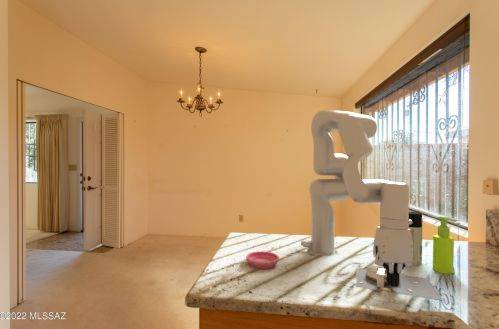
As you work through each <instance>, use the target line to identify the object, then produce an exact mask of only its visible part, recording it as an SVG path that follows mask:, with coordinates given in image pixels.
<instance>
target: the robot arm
mask: <svg viewBox="0 0 499 329" xmlns="http://www.w3.org/2000/svg"><path fill="white" fill-rule="evenodd" d="M310 129H311V130H310V131H311V136H312V142H313V159H312V160H313V162H312V163H313V164H312V165H313V171H314V173H315V175H318V176H325V177H326V176H327V177H328V176H329V177H330V176H333V177H334V178H318V179H314V180H313V181H311V182H310V184H309V188H308V189H309V196H310V203H311V225H310V226H311V229H310V230H311V232H310V233H311V234H310V235H311V238H310V240H309V241H305V240H301V241H300V246H302V247H303V248H307V250H306V251H307V254H308V255H310V256H312V257H315V255H318V256H322V257H323V256H325V257H329V256H335V255H337V254H338V253H339V252H338V250H337V249H335V232H336V230H335V228H336V226H335V223H336V220H335V218H336V214H335V213H336V212H335V209H334V207H333V205H332V204H331V202H339V201H340V202H342V201H345V200H348V199H349V198H350V199H352V201H353V202H355V203H357V204H379V205H380V206H379V226H376V229H375V233H374V239H373V245H372V248H373V249H372V255H373V257H374V264H375V266H382V267H384V268H385V269H386V270H387V282H388V284H390V285H391V286H392V287H395V286H396V287H398V283H399V273H402V271H403V270H404V269H405V268H407V267H410V266H413V264H412V260H413V241H412V235H411V231H410V229H409V228H408V227H409V224H412V220H409V211H410V186H409V185H408V183H406V182H402V181H401V182H400V181H390V180H386V179H363V178H362V176H361V173H360V170H359V162H361V161H363V160H365V159H367V158H369V157H370V156H371V155H372V153H373V146H372V143H371V142H370V139H371V138H373V137H374V136H375V135H376V134H377V130H378V126H377V122H376V120H375V118H373V117H372V116H370V115H367V114H362V113H361V114H360V113H356V112H352V111H343V110H330V109H329V110H328V109H327V110H326V109H324V110H319V111H317V112H316V113H315V114H314V116H313V117H312V119H311V125H310ZM330 132H332V133H333V132H334V133H338V134H339V137H340V140H341V141H342V142H341V143H342V146H343V147H344V150H345V153H346V154H344V153H335V141H334V139H333V137H332V135H331V134H330Z"/></svg>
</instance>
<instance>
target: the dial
mask: <svg viewBox="0 0 499 329" xmlns="http://www.w3.org/2000/svg"><path fill="white" fill-rule="evenodd" d="M365 268H366V269H365V270H366V277H367V278H369V279H370V280H372V281H374V282H377V287H380V288H384V284H388V282H387V270H386V269H385V268H384V267H382V266H378V265H369V266H367V267H365ZM400 275H401V274H400V273H399V283H400ZM388 285H390V284H388Z"/></svg>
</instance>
